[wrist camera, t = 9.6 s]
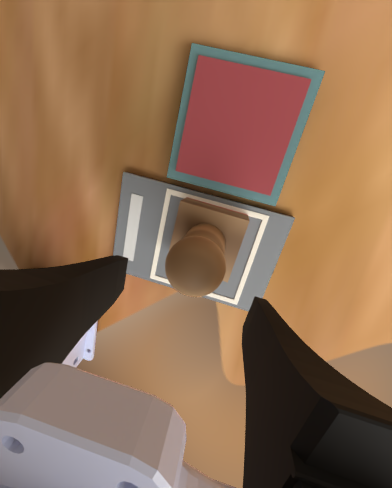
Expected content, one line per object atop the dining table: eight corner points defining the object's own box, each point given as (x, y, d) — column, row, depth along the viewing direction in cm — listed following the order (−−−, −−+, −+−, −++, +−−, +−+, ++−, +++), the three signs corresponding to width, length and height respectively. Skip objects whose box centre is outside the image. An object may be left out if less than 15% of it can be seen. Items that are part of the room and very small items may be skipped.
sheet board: (255, 309, 20) (256, 314, 19) (114, 266, 21) (110, 269, 21) (292, 216, 17) (295, 218, 16) (126, 172, 18) (122, 171, 18)
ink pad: (273, 204, 17) (276, 206, 16) (170, 177, 18) (165, 177, 17) (319, 78, 14) (327, 68, 13) (194, 51, 15) (191, 40, 14)
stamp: (228, 270, 19) (223, 335, 11) (173, 253, 19) (134, 305, 12) (247, 214, 17) (256, 249, 10) (186, 197, 17) (150, 217, 10)
